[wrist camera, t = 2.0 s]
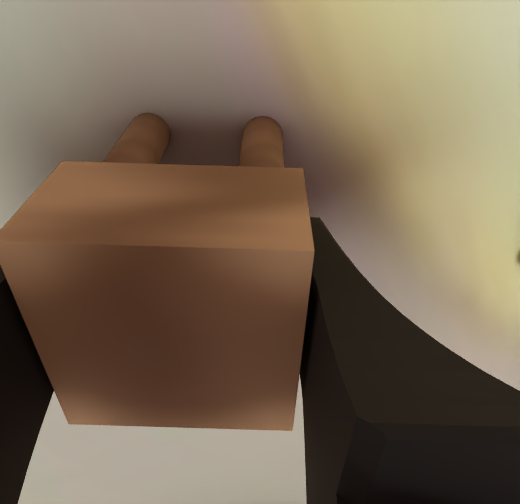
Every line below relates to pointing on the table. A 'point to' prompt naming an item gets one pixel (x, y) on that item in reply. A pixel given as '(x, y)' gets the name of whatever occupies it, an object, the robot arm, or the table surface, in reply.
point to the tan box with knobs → (168, 283)
